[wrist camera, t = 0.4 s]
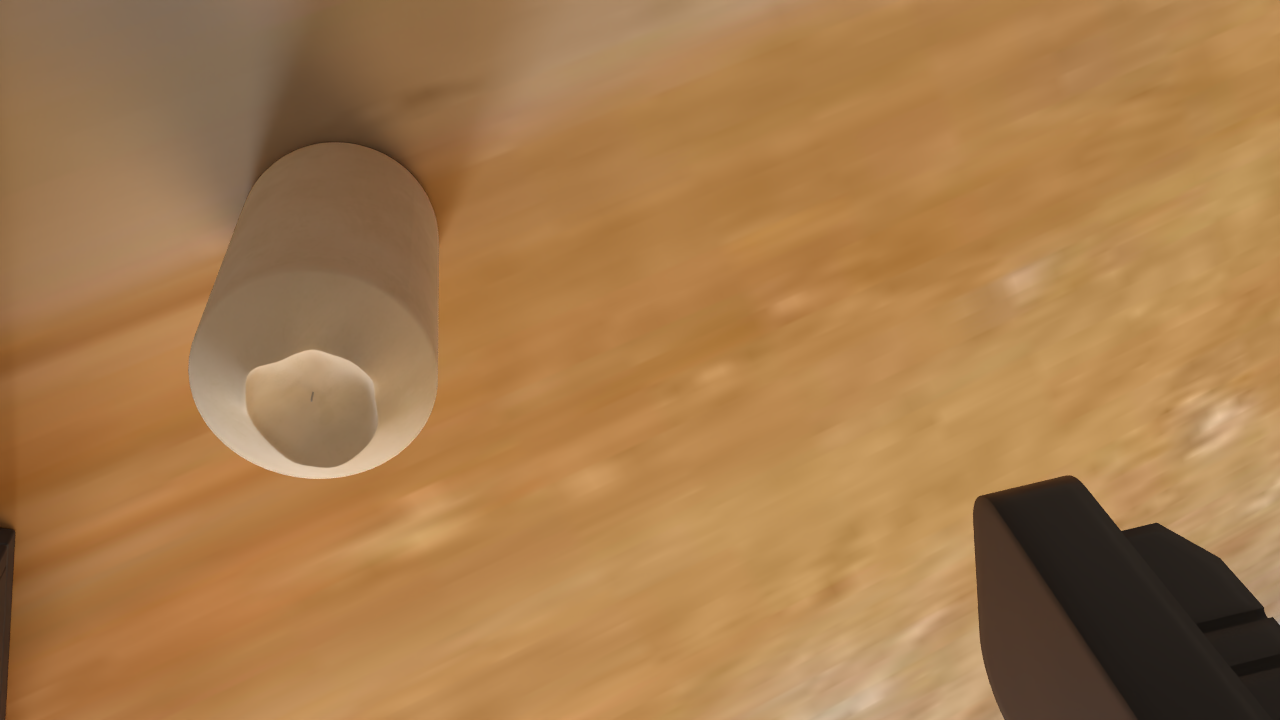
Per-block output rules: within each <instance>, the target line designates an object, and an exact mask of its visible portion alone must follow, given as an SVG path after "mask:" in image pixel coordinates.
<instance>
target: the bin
mask: <svg viewBox="0 0 1280 720" xmlns="http://www.w3.org/2000/svg"><path fill="white" fill-rule="evenodd" d="M14 547H15V530H12V529H4V528H0V720H5V716H6V697H7V678H8V659H9V641H10V622H11V603H12V584H13V566H14Z"/></svg>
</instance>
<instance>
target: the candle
mask: <svg viewBox="0 0 1280 720" xmlns="http://www.w3.org/2000/svg"><path fill="white" fill-rule="evenodd" d="M438 298H439V235H438V226H437V220H436V217H435V213H434V210H433V208H432V205H431V203H430V201H429V198H428V196H427V194H426V193H425V191H424V190H423V188H422V186H421V185H420V184H419V182H418V181H417V180H416V179H415V177H414V176H413V175H412V174H411V173H410V172H409V171H408V170H407V169H406V168H405V167H403V166H402V165H401V164H399V163H398V162H397V161H395V160H394V159H392V158H390V157H389V156H387V155H385V154H383V153H381V152H379V151H376V150H374V149H372V148H368V147H365V146H361V145H357V144H351V143H340V142H329V143H319V144H314V145H310V146H306V147H303V148H300V149H297V150H295V151H293V152H291V153H289V154H287V155H285V156H283V157H282V158H281V159H279V160H278V161H276V162H275V163H274V164H273V165H271V166H270V167H269V168H268V169H267V170H266V171H265V172H264V173H263V174H262V175H261V176H260V178H259V179H258V180H257V181H256V183H255V184H254V186H253V188H252V189H251V191H250V193H249V195H248V197H247V199H246V202H245V204H244V206H243V209H242V211H241V214H240V217H239V219H238V222H237V225H236V227H235V230H234V233H233V235H232V238H231V241H230V243H229V246H228V249H227V251H226V254H225V257H224V259H223V262H222V265H221V267H220V270H219V273H218V275H217V278H216V281H215V283H214V286H213V289H212V291H211V294H210V297H209V299H208V302H207V305H206V307H205V310H204V313H203V315H202V318H201V321H200V323H199V326H198V329H197V331H196V334H195V337H194V340H193V342H192V346H191V351H190V355H189V369H188V372H189V382H190V388H191V391H192V395H193V399H194V401H195V404H196V406H197V408H198V411H199V413H200V414H201V416H202V417H203V419H204V421H205V422H206V424H207V425H208V427H209V428H210V429H211V430H212V431H213V433H214V434H215V435H216V436H217V437H218V438H219V439H220V440H221V441H222V442H223V443H224V444H225V445H226V446H227V447H229V448H230V449H231V450H233V451H234V452H235V453H237V454H238V455H240V456H241V457H243V458H245V459H246V460H248V461H250V462H252V463H254V464H256V465H258V466H260V467H263V468H265V469H267V470H271V471H274V472H277V473H280V474H284V475H289V476H294V477H301V478H311V479H328V478H337V477H344V476H349V475H353V474H358V473H361V472H364V471H366V470H369V469H372V468H374V467H376V466H378V465H381V464H383V463H385V462H386V461H388V460H390V459H391V458H393V457H394V456H396V455H397V454H399V453H400V452H401V451H402V450H403V449H405V448H406V447H407V446H408V445H409V444H410V443H411V442H412V441H413V440H414V439H415V438H416V437H417V435H418V434H419V433H420V431H421V430H422V428H423V427H424V425H425V424H426V422H427V420H428V418H429V416H430V414H431V412H432V409H433V406H434V403H435V399H436V393H437V387H438Z"/></svg>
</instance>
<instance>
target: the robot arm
mask: <svg viewBox="0 0 1280 720" xmlns="http://www.w3.org/2000/svg"><path fill="white" fill-rule="evenodd" d="M973 526H974V543H975V561H976V578H977V596H978V614H979V631H980V643H981V650H982V655H983V660H984V664H985V668H986V672H987V675H988V679H989V682H990V685H991V688H992V691H993V694H994V696H995V699H996V702H997V704H998V706H999V709H1000V711H1001V713H1002V715H1003V717H1004V719H1005V720H1280V625H1279V624H1278V623H1277V621H1276V620H1275V619H1274V618H1273V617H1272V618H1267V616H1266V614H1265V612H1264V607H1263V606H1262V605H1261V604H1260V602H1259V601H1258V600H1257V599H1256V598H1255V597H1254V596H1253V595H1252V593H1251V592H1250V591H1249V590H1248V589H1247V588H1246V587H1245V586H1244V584H1243V583H1242V582H1241V581H1240V580H1239V579H1238V578H1237V577H1236V576H1235V574H1234V573H1233V572H1232V571H1231V570H1230V569H1229V568H1228V567H1227V565H1226V564H1225V563H1224V562H1223V561H1222V560H1221V559H1220V558H1219V557H1217V556H1215V555H1213V554H1212V553H1210V552H1208V551H1206V550H1205V549H1203V548H1201V547H1199V546H1197V545H1196V544H1194V543H1192V542H1190V541H1189V540H1187V539H1185V538H1183V537H1181V536H1180V535H1178V534H1176V533H1174V532H1173V531H1171V530H1169V529H1167V528H1165V527H1164V526H1162V525H1160V524H1158V523H1153V524H1149V525H1145V526H1141V527H1137V528H1132V529H1128V530H1124V531H1121V530H1120V529H1119V528H1118V527H1117V525H1116V524H1115V523H1114V522H1113V520H1112V519H1111V518H1110V517H1109V515H1108V514H1107V513H1106V512H1105V510H1104V509H1103V508H1102V507H1101V506H1100V504H1099V503H1098V502H1097V501H1096V499H1095V498H1094V497H1093V496H1092V494H1091V493H1090V492H1089V491H1088V489H1087V488H1086V487H1085V486H1084V485H1083V484H1082V483H1081V481H1079V480H1078V479H1077V478H1075V477H1073V476H1071V475H1069V476H1062V477H1058V478H1054V479H1050V480H1045V481H1041V482H1037V483H1033V484H1028V485H1024V486H1020V487H1016V488H1011V489H1007V490H1003V491H999V492H995V493H990V494H986V495H982V496H979V497H978V498H977V499H976V501H975V504H974V510H973Z"/></svg>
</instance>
